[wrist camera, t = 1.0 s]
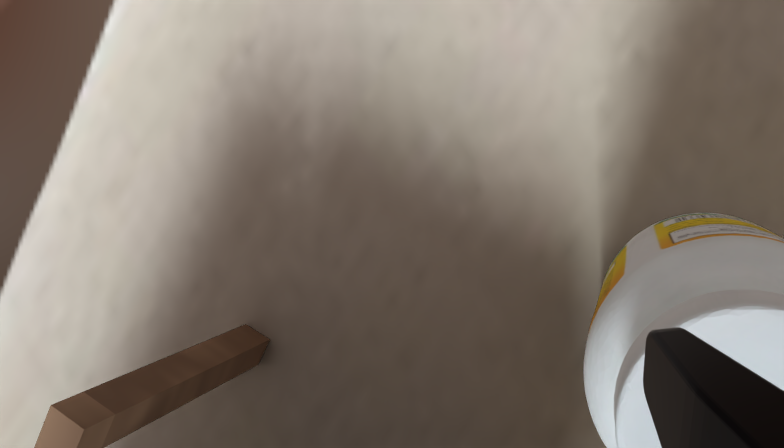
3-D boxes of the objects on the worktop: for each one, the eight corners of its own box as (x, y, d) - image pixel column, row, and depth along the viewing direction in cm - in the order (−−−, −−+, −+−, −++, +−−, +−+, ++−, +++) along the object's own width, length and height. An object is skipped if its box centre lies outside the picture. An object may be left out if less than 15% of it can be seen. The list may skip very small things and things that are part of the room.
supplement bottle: (726, 172, 19) (816, 178, 10) (858, 339, 18) (1086, 512, 9) (558, 284, 20) (502, 379, 11) (674, 442, 20) (712, 675, 11)
